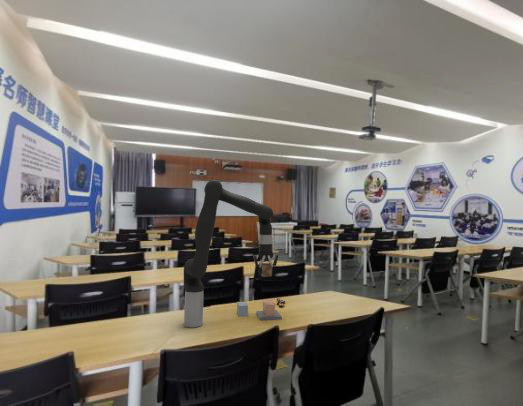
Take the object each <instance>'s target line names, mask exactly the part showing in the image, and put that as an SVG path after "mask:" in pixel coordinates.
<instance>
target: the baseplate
mask: <svg viewBox="0 0 523 406" xmlns="http://www.w3.org/2000/svg"><path fill="white" fill-rule="evenodd" d="M272 301H273V300H263V301H262V310H256V311H255V314H256V316H257V317H258V320H259V321H275V320H276V321H277V320H278V321H279V320H282V319H283V317H282V314H280V312H279V311H278V310H276V303H275V304H274V301H273V302H272Z"/></svg>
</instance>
